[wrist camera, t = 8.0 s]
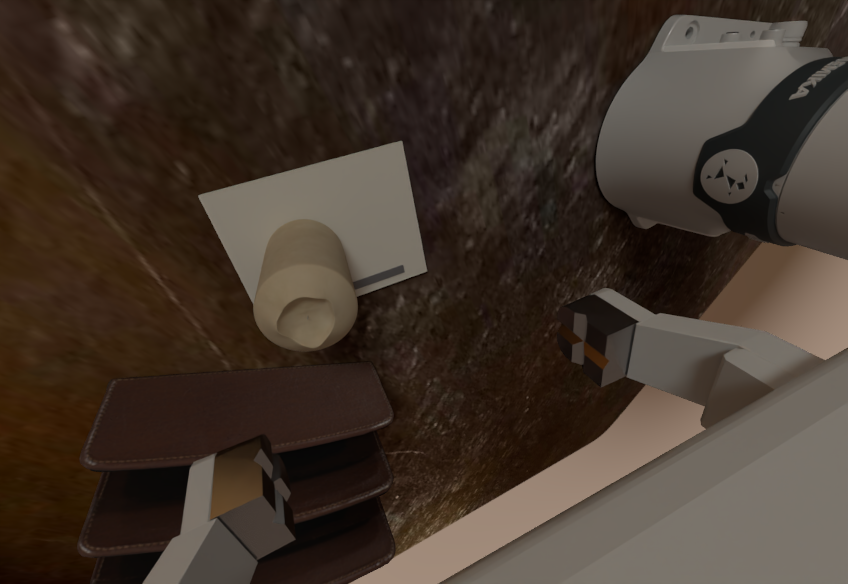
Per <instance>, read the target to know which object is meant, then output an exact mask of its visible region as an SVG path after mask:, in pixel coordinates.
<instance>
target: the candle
mask: <svg viewBox="0 0 848 584" xmlns="http://www.w3.org/2000/svg"><path fill="white" fill-rule="evenodd" d="M253 308H254V317H255V321H256V323H257V325H258V327H259V329H260V330H261V332H262V333H263V334H264V335H265V336H266V337H267V338H268V339H269V340H270V341H272V342H273V343H275V344H277V345H278V346H281V347H283V348H286V349H289V350H294V351H316V350H320V349H324V348H326V347H329V346H331V345H333V344H335V343H336V342H338V341H339V340H341V339H342V338H343V337H344V336H345V335H346V334H347V333H348V332H349V331H350V329H351V328H352V326H353V325H354V322H355V320H356V317H357V313H358V301H357V296H356V292H355V289H354V285H353V281H352V278H351V274H350V270H349V267H348V263H347V259H346V256H345V252H344V249H343V246H342V243H341V241H340V239H339V238H338V236H337V235H336V234H335V233H334V232H333V231H332V230H331V229H330V228H329V227H328V226H326V225H324V224H322V223H320V222H317V221H314V220H308V219H299V220H294V221H290V222H288V223H286V224H284V225H282V226H281V227H279V228H278V229H277V230H276V231H275V232H274V233H273V234H272V236H271V237H270V239H269V241H268V244H267V247H266V250H265V255H264V259H263V264H262V268H261V273H260V277H259V282H258V286H257V291H256V295H255V300H254V307H253Z"/></svg>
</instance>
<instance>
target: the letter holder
mask: <svg viewBox="0 0 848 584" xmlns="http://www.w3.org/2000/svg"><path fill="white" fill-rule="evenodd" d="M393 417H394V414H393V410H392V407H391V405H390V403H389V401H388V399H387V396H386V394H385V392H384V389H383V387H382V384H381V382H380V379H379V377H378V374H377V372H376V370H375V368H374V366H373V364H372V362H358V363H357V362H354V363H343V364H341V363H339V364H327V365H311V366H297V367H280V368H264V369H250V370H235V371H221V372H203V373H190V374H176V375H164V376H149V377H133V378H121V379H112V380H111V381H110V382H109V384H108V386H107V390H106V394H105V396H104V398H103V401H102V403H101V406H100V408H99V410H98V413H97V415H96V418H95V420H94V423H93V425H92V428H91V431H90V432H89V434H88V437H87V440H86V442H85V444H84V446H83V449H82V452H81V455H80V463H81V464H82V465H83V466H84V467H86V468H87V469H90V470H91V471H96V472H102V474H101V478H100V481H99V483H98V486H97V489H96V492H95V495H94V498H93V501H92V503H91V506H90V510H89V512H88V515H87V518H86V521H85V523H84V526H83V529H82V532H81V534H80V537H79V540H78V551H79V553H80V555H81V556H85V557H92V558H93V557H94V558H97V557H98V559H97V562H96V565H95V569H94V572H93V575H92V578H91V581H90V584H142V583H143V582H144V580H145V579H146V577H147V576H148V574H149V573H150V571H151V570H152V568H153V567H154V565H155V564H156V562H157V561H158V559H159V558H160V556H161V555H162V553H163V552H164V550H165V549H166V547H167V546H168V544H169V543H170V541H171V540H172V538H174V537H177V536H179V535H180V533H181V526H182V519H183V512H184V505H185V498H186V491H187V484H188V477H189V470H190V468H191V466H192V464H193V462H195V461H197V460H200V459H202V458H205V457H207V456H210V455H212V454H215V453H217V452H219V451H221V450H224V449H226V448H229V447H231V446H234V445H236V444H239V443H241V442H244V441H246V440H249V439H251V438H254V437H256V436H259V435H261V434H265V435H266V436H267V438H268V439H269V441H270V442H271V447H272V453H275V454H278V455H279V456H280V458H281V459H282V461H283V463H284V466H285V468H286V471H287V474H288V478H289V482H290V490H291V494H290V496H289V498H288V500H287V503H288V504H289V506H290V507H291V509H292V510H293V516H294V526H295V535H296V540H294V541H292V542H290V543H288V544H286V545H284V546H283V547H281V548H279V549H277V550H275V551H273V552H271V553H269V554H267V555H266V556H264V557H262V558H260V559H258V560H256V561H257V562H258V563H257V566H256V569H255V571H254V574H253V576H252V579H251V581H250V584H347V583H349V582H352V581H354V580H356V579H358V578H360V577H362V576H364V575H366V574H368V573H370V572H372V571H374V570H376V569H378V568H381V567H382V566H384V565H385V564H388V563H389V562H390V560H392V558H393V557H394V554H395V542H394V538H393V535H392V533H391V530H390V527H389V524H388V521H387V518H386V515H385V512H384V509H383V507H382V503H381V500H380V497H379V496H381V495H383V494H384V493H386V492H387V491H388V490H389V489H390V487H391V485H392V483H393V479H394V477H393V473H392V470H391V468H390V465H389V462H388V460H387V457H386V454H385V452H384V449H383V447H382V444H381V442H380V440H379V436H378V433H377V431H376V430H378V429H382V428H384V427H386V426H388V425H389V424H391V423H392V421H393Z"/></svg>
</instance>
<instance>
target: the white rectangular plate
mask: <svg viewBox="0 0 848 584" xmlns="http://www.w3.org/2000/svg"><path fill="white" fill-rule="evenodd" d="M198 197H199V199H200V201H201V203H202V205H203V207H204V209H205V211H206V213H207V214H208V216H209V218H210V220H211V222H212V224H213V226H214V228H215V230H216V232H217V234H218V236H219V238H220V240H221V242H222V244H223V246H224V248H225V250H226V252H227V254H228V256H229V257H230V259H231V261H232V263H233V265H234V267H235V269H236V271H237V273H238V275H239V277H240V279H241V281H242V283H243V285H244V287H245V289H246V291H247V293H248V295H249V297H250V299H251V301H252V302H253V304H254V300H255V295H256V291H257V286H258V282H259V277H260V273H261V268H262V264H263V259H264V255H265V250H266V247H267V244H268V241H269V239H270V237H271V236H272V234H273V233H274V232H275V231H276V230H277V229H278V228H279V227H281V226H282V225H284V224H286V223H288V222H290V221H294V220H299V219H308V220H314V221H317V222H320V223H322V224H324V225H326V226H328V227H329V228H330V229H331V230H332V231H333V232H334V233H335V234H336V235H337V236H338V238H339V239H340V241H341V243H342V246H343V249H344V252H345V256H346V259H347V263H348V267H349V270H350V274H351V278H352V281H353V285H354V289H355V292H356V296H357V297H358V296H360V295H363V294H366V293H369V292H372V291H374V290H377V289H380V288H383V287H385V286H388V285H391V284H394V283H396V282H399V281H402V280H405V279H408V278H410V277H413V276H416V275H419V274H421V273H424V272H427V268H426V263H425V258H424V253H423V247H422V242H421V237H420V232H419V226H418V221H417V216H416V211H415V206H414V200H413V195H412V190H411V185H410V180H409V174H408V169H407V164H406V159H405V153H404V148H403V143H402V141H399V142H395V143H391V144H387V145H384V146H380V147H376V148H372V149H369V150H365V151H361V152H358V153H354V154H350V155H346V156H343V157H339V158H335V159H331V160H328V161H324V162H320V163H317V164H313V165H309V166H305V167H302V168H298V169H294V170H290V171H287V172H283V173H279V174H276V175H272V176H268V177H264V178H261V179H257V180H253V181H250V182H246V183H242V184H238V185H235V186H231V187H227V188H223V189H220V190H216V191H212V192H209V193H205V194H201V195H199V196H198Z"/></svg>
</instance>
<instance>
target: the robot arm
mask: <svg viewBox="0 0 848 584" xmlns="http://www.w3.org/2000/svg"><path fill="white" fill-rule="evenodd" d="M807 22H808V21H792V22H779V23H765V22H755V21H744V20H734V19H723V18H713V17H703V16H692V15H674V16H671V17H670V18H669V19H668V20H667V21H666V22H665V24H664V25H663V27H662V28H661V30H660V32H659V34H658V36H657V37H656V39H655V41H654V43H653V45H652V47H651V49H650V51H649V53H648V55H647V56H646V58H645V59H644V60H643V61H642V62H641V64H640V65H639V66H638V67H637V68H636V69H635V70H634V71H633V72H632V74H631V75H630V76H629V77H628V78H627V80H626V81H625V82H624V84H623V85H622V87H621V88H620V90H619V91H618V93H617V94H616V96H615V98H614V100H613V102H612V103H611V105H610V108H609V110H608V112H607V114H606V117H605V119H604V122H603V125H602V128H601V132H600V135H599V140H598V145H597V152H596V174H597V179H598V183H599V187H600V189H601V191H602V193H603V195H604V197H605V198H606V199H607V200H608V201H609V202H610V203H611V204H612V205H613V206H615V207H617V208H619V209H621V210H623V211H625V212H626V213H628V215H629V217H630V219H631V221H632V223H633V224H634V225H635V226H636V227H639V228H643V229H648V228H650V227H652V226H654V225H655V224H657V223H660V224H664V225H667V226H671V227H675V228H679V229H683V230H686V231H690V232H694V233H698V234H702V235H706V236H712V237H716V236H719V235H721V234H723V233H726V232H729V231H730V230H731V231H733V232H736V233H739V234H742V235H746V236H749V238H751V239H754V240H757V241H761V242H764V243H765V242H767V243H769V242H770V243H773V244H777V245H780V246H793V245H801V246H804V247H807V248H810V249H814V250H817V251H820V252H823V253H827V254H830V255H833V256H836V257H840V258H843V259H846V260H848V57H833V56H832V54H831V52H830V51H829V50H828V49H826V48H812V47H799V45H800V43H799V41H801V40H802V37H803V35H804V32H805V30H806V27H807V25H808V24H807ZM557 320H559V321H560V322H561V323H562V324H561V326H560V328H559V329H558V331H557V342H558V344H559V347H560V349H561V351H562V352H563V354H564V355H565V356H566V357H567V358H568V359H569V360H570V361H571V362H574V363H578V364H581V365H582V368H583V372H584V373H585V374H586V375H587V376H588V377H590V378H591V379H592V380H593V381H594V382H595V383H597V384H598V385H599V386H600V387H603V386H605V385H607V384H610V383H612V382H614V381H616V380H618V379H620V378H623V377H625V376H627V377H628V378H630V379H633V380H636V381H638V382H641V383H644V384H646V385H649V386H652V387H655V388H657V389H660V390H662V391H665V392H668V393H671V394H673V395H676V396H679V397H681V398H684V399H687V400H689V401H692V402H695V403H698V404H700V405H703V406H705V409H704V411H703V414H702V417H701V425H702V426H703V427H704V428H706V430H704V431H703V432H701V433H699V434H697V435H696V436H694V437H692V438H690V439H688V440H687V441H685V442H683V443H682V444H680V445H678V446H676V447H675V448H673V449H671V450H669V451H668V452H666V453H664V454H662V455H661V456H659V457H657V458H656V459H654V460H652V461H651V462H649V463H647V464H645V465H643V466H642V467H640V468H638V469H637V470H635V471H633V472H631V473H629V474H628V475H626V476H624V477H623V478H621V479H619V480H617V481H616V482H614V483H612V484H610V485H609V486H607V487H605V488H603V489H602V490H600V491H598V492H597V493H595V494H593V495H591V496H590V497H588V498H586V499H584V500H583V501H581V502H579V503H578V504H576V505H574V506H572V507H570V508H569V509H567V510H565V511H564V512H562V513H560V514H558V515H557V516H555V517H553V518H551V519H550V520H548V521H546V522H545V523H543V524H541V525H539V526H537V527H536V528H534V529H532V530H531V531H529V532H527V533H525V534H524V535H522V536H520V537H519V538H517V539H515V540H513V541H512V542H510V543H508V544H506V545H505V546H503V547H501V548H499V549H498V550H496V551H494V552H492V553H491V554H489V555H487V556H486V557H484V558H482V559H480V560H478V561H477V562H475V563H473V564H472V565H470V566H468V567H466V568H465V569H463V570H461V571H460V572H458V573H456V574H454V575H453V576H451V577H449V578H447V579H446V580H444V581H442V582H440V583H439V584H848V348H846V349H844V350H843V351H841V352H839V353H838V354H836V355H834V356H832V357H831V358H829V359H827V360H823V359H821V358H819V357H817V356H815V355H813V354H811V353H809V352H807V351H805V350H803V349H801V348H799V347H797V346H795V345H793V344H791V343H788V342H787V341H785V340H783V339H780V338H779V337H777V336H774V335H772V334H770V333H768V332H766V331H761V330H756V329H749V328H744V327H738V326H732V325H727V324H721V323H715V322H709V321H703V320H698V319H692V318H686V317H680V316H674V315H669V314H663V313H659V314H657V315H655V314H653V313H651V312H650V311H648V310H646V309H645V308H643V307H641V306H639V305H638V304H636V303H634V302H632V301H631V300H629V299H627V298H626V297H624V296H622V295H620V294H619V293H617V292H615V291H613V290H612V289H608V288H604V289H601V290H599V291H597V292H594V293H592V294H590V295H588V296H585V297H583V298H581V299H579V300H576V301H574V302H572V303H569V304H567V305H565V306H562V307H560V309H559V311H558V318H557ZM290 494H291V490H290V482H289V478H288V474H287V471H286V468H285V466H284V463H283V461H282V459H281V458H280V456H279V455H278V454H275V453H272V447H271V442H270V441H269V439H268V438H267V436H266V435H265V434H261V435H259V436H256V437H254V438H251V439H249V440H246V441H244V442H241V443H239V444H236V445H234V446H231V447H229V448H226V449H224V450H221V451H219V452H217V453H215V454H212V455H210V456H207V457H205V458H202V459H200V460H197V461H195V462H193V464H192V466H191V468H190V470H189V477H188V484H187V491H186V498H185V505H184V512H183V519H182V526H181V533H180V535H179V536H177V537H174V538H172V540H171V541H170V543H169V544H168V546H167V547H166V549H165V550H164V552H163V553H162V555H161V556H160V558H159V559H158V561H157V562H156V564H155V565H154V567H153V568H152V570H151V571H150V573H149V574H148V576H147V577H146V579H145V580H144V582H143V583H142V584H250V581H251V579H252V576H253V574H254V571H255V569H256V566H257V563H258V562H257V561H256V560H258V559H260V558H262V557H264V556H266V555H267V554H269V553H271V552H273V551H275V550H277V549H279V548H281V547H283V546H284V545H286V544H288V543H290V542H292V541H294V540H296V535H295V526H294V516H293V510H292V509H291V507H290V506H289V504H288V503H287V500H288V498H289V496H290Z"/></svg>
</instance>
